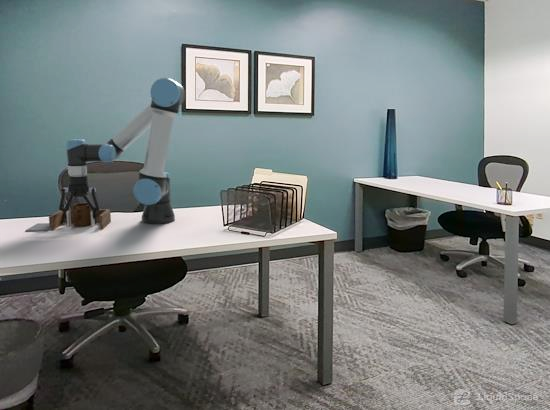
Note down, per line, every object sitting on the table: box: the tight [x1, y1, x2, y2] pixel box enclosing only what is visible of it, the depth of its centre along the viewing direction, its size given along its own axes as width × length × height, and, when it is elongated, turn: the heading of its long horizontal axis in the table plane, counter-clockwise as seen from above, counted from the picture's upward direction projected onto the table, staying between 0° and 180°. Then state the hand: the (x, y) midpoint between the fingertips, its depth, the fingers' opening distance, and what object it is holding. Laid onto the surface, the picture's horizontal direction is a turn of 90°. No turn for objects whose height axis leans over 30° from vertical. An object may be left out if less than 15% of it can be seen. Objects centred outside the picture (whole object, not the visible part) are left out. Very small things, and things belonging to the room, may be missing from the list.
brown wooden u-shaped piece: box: [48, 208, 112, 231], centre depth 192 cm, size 21×15×6 cm
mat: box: [25, 222, 51, 233], centre depth 188 cm, size 9×13×1 cm, turn 8°
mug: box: [72, 202, 92, 228], centre depth 191 cm, size 12×8×9 cm, turn 4°
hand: (81, 225), depth 192 cm, fingers open, 9 cm apart
